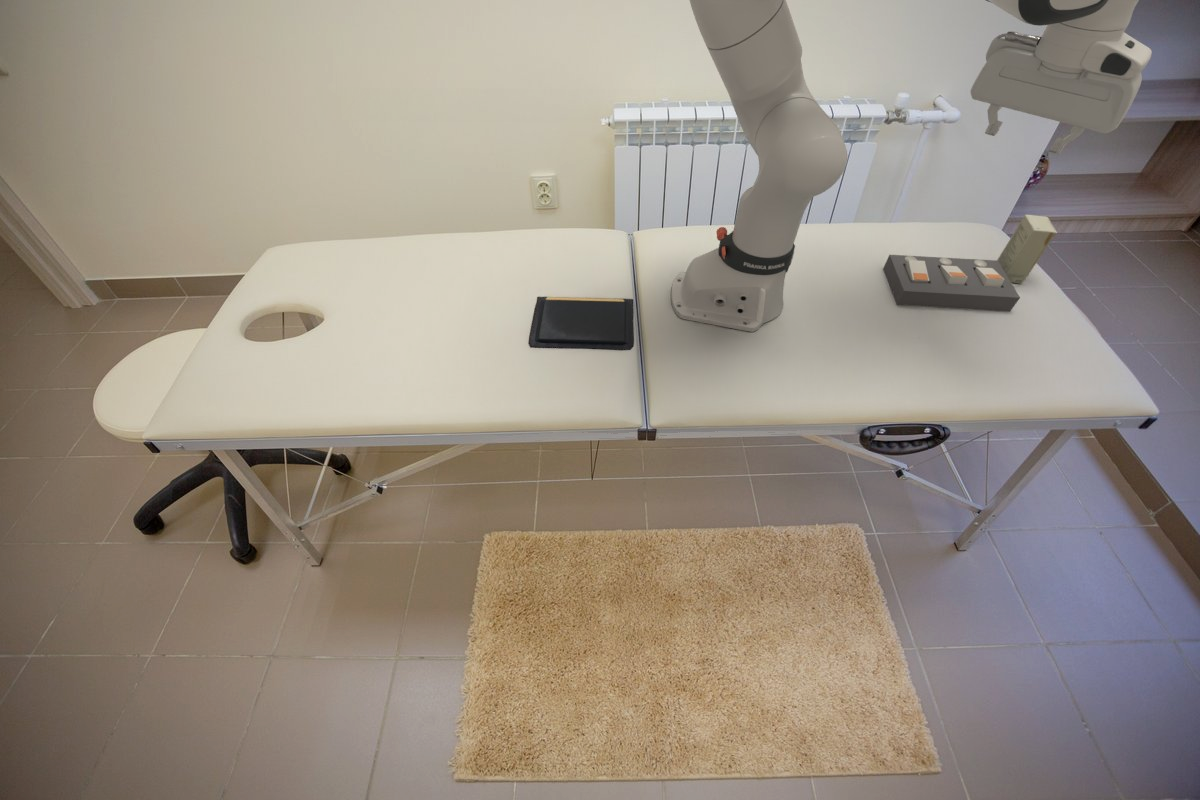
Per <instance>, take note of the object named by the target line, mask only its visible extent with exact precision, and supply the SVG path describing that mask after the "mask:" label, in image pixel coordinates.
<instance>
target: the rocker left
mask: <svg viewBox="0 0 1200 800" xmlns="http://www.w3.org/2000/svg"><path fill="white" fill-rule="evenodd" d="M905 270H906V272H907V275H908V277H909V279H910V282H914V283H928V282H929V277H928V273H927V268H926V264H925V261H917V260H908V262H907V263H906V265H905Z"/></svg>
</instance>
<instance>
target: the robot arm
mask: <svg viewBox="0 0 1200 800" xmlns="http://www.w3.org/2000/svg"><path fill="white" fill-rule="evenodd" d="M985 1H986V2H989V3H991V4H993V5H995V6H996V7H998V8H999V9H1001V10H1002V11H1004V12H1005V13H1007V14H1009V15H1011V16H1012V17H1014V18H1015V19H1017V20H1019V21H1021V22H1023V23H1025V24H1028V25H1032V26H1041V27H1042V26H1046V27H1045V29H1044V30H1043V34H1042V35H1041V36H1039V35H1032V34H1025V33H1024V34H1023V33H1019V32H1017V31H1008V32H1006V33H1002V34H999V35H997V36H996V37H994V38H993V40H992V41H991V43H990V44H989V47H988V49H987V51H986V54H985V61H986V62H985V64H984V65H983V66H982V68H981V69H980V72H979V73H978V75H977V76H976V79H975V81H974V82H973V84H972V86H971V88H970V91H969V92H970V95H971V99H972V100H975V101H979V102H982V103H987V104H989V107H988V109H987V118H988V126H987V128H986V129H985V132H984V134H986V135H988V136H993V137H995V136H996V135H997V134H998V133H999V131H1000V128H1001V126H1002V125H1003V121H1001V120H999V115H998V111H1000V110H1001V109H1002V108H1005V109H1009V110H1012V111H1013V110H1014V111H1018V112H1021V113H1025V114H1029V115H1031V116H1037V117H1040V118H1045V119H1046V120H1052V121H1056V122H1059V123H1063V124H1066V125H1070V126H1072V128H1071V130H1069V132H1070V134H1068V135H1067V136H1065V137H1064V138H1063V137H1059V136H1057V137H1056V139H1055V140H1054V142H1053V143H1052V144H1051V147H1050V148H1049V150H1048V153H1052V154H1056V155H1060V154H1061V152H1062V151H1063V150H1064V148H1065V146H1066V145H1067V144H1068V143H1070V142H1072V141H1073V140H1075V139H1077V138H1078V137H1079V136H1081V135H1082V133H1083V132H1084V131H1085V129H1086V130H1090V131H1094V132H1098V133H1100V134H1101V133H1102V134H1109V133H1110V132H1113V131H1114V130H1117V128H1118V127H1119V126H1120V124H1121V123H1122V121H1123V120H1124V118H1125V117H1126V115H1127V114H1128V111H1129V110H1130V108H1131V106H1132V104H1133V102H1134V100H1135V98H1136V97H1137V93H1138V92H1139V90H1140V87H1141V84H1142V79H1143V77H1142V71H1143V70H1144V69H1145V67H1146V66H1147V64H1149V62H1150V60H1151V58H1152V53H1153V51H1152V49H1151V48H1150V47H1148V46H1147V45H1145V44H1143V43H1142V42H1140V41H1138V40H1137V39H1136V38H1134V37H1132V36H1130V35H1129V34H1128V33H1126V32H1125V31H1126V29H1127V28H1128V26H1129V24H1130V22H1131V19H1132V16H1133V12H1134V10H1135V8H1136V6H1137V4H1138V3H1139V1H1140V0H985ZM689 4H690V7H691V9H692V12H693V15H694V19H695V22H696V24H697V27H698V30H699V32H700V35H701V37H702V39H703V41H704V44H705V47H706V48H707V50H708V52H709V54H710V57H711V58H712V61H713V64H714V65H715V68H716V70H717V72H718V75H720V79H721V80H722V82H723V85H724V86H725V89H726V92H727V94H728V96H729V98H730V102H731V105H732V107H733V109H734V112H735V115H736V117H737V120H738V122H739V125H740V127H741V129H742V131H743V133H744V136H745V138H746V140H747V142H748V143H749V145H750V147H751V149H753V152H755V154H756V156H757V158H758V168H759V169H758V172H757V173H758V174H757V175H756V176H757V177H756V178H755V181H754V183H753V185H752V186H750V187H749V188H748V189H746V190H745V191H744V192H743V193H742V195H741V197H740V199H739V203H738V207H737V212H736V216H735V217H736V218H735V222H734V225H733V230H731V232H730V233H728V229H727V228H726V227H724V226H721V227H719V228H718V229H717V230H716V239H717V241H719V244H718V247H717V248H714V249H713V250H710V251H709V252H705V253H704V254H702V255H701V254H700V255H699V256H696V257H695V258H693V259H692V260H691V262H690V263H689V265H688V267H687V269H686V271H682V272H679V273H678V274H677V275H676V276H675V278H674V280H673V282H672V284H671V289H670V302H671V306H672V309H673V311H674V313H675V314H676V315H677V316H678V317H679V318H680V319H682V320H688V321H693V322H698V323H704V324H709V325H713V326H718V327H724V328H730V329H735V330H740V331H745V332H750V333H751V332H756V331H757V330H758V329H760V327H762V325H764V324H766V323H767V322H770V321H772V320H775V319H776V318H777V317H778V316H780V314H781V313H782V312H783V309H784V286H785V279H786V275H787V273H788V271H789V268H790V267H791V264H792V261H793V258H794V254H795V249H796V245H795V241H796V238H797V234H798V231H799V228H800V224H801V222H802V219H803V216H804V214H805V211H806V209H807V207H808V205H809V204H810V202H811V200H812V199H814V197H817V196H818V195H821V194H823V193H825V192H826V191H828V190H829V189H831V187H834V185H835V184H836V183H837V182H838V181H839V180H840V178H841V176H842V175H843V173H844V171H845V170H846V168H847V167H846V166H847V164H848V163H847V162H848V150H847V146H846V143H845V141H844V138H843V135H842V133H841V130H840V128H839V126H838V125H837V124H836V123H835V122H834V120H833V119H832V118H831V117H830V116H829V115H828V114H827V113H826V111H825V110H824V109H823V108H822V107H821V106H820V105H819V103H818V101H816V99H815V98H814V96H813V95H812V93H811V92H810V90H809V88H808V85H807V82H806V79H805V77H804V72H803V66H802V65H803V64H802V55H803V49H802V48H803V47H802V44H801V41H800V37H799V34H798V32H797V29H796V25H795V23H794V20H793V17H792V13H791V11H790V8H789V6H788V2H787V0H689Z"/></svg>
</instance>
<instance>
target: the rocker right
mask: <svg viewBox="0 0 1200 800" xmlns="http://www.w3.org/2000/svg"><path fill="white" fill-rule="evenodd" d="M975 272H976V274H977V276H978V278H979V280H980V282H981V283H982V285H983V286H984V287H1001V285H1002V283H1003V281H1004V278H1002V277H1001V276H1000V275H999V274H998V273H997V272H996V271H995V270H994V269H993V268H981V267H976V269H975Z"/></svg>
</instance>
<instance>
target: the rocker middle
mask: <svg viewBox="0 0 1200 800" xmlns="http://www.w3.org/2000/svg"><path fill="white" fill-rule="evenodd" d="M940 271H941V273H942V276H943V278H944V280H945V282H946V284H949V285H965V282H966V280H967V278H968V277H967V276H966V275H965V274H964V273H963V272H962V271H961V270H960V269H959V268H958V267H957V266H945V265H941V266H940Z"/></svg>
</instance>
